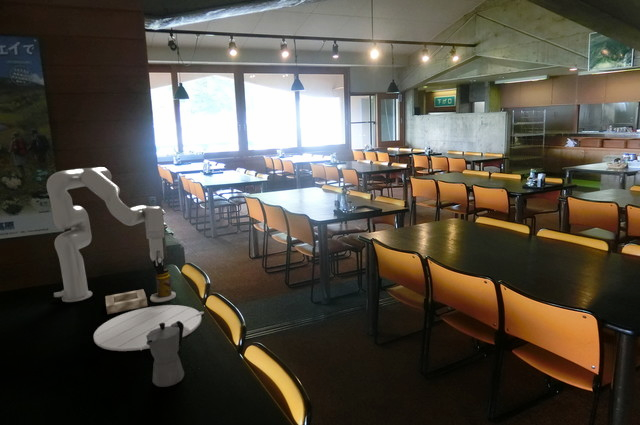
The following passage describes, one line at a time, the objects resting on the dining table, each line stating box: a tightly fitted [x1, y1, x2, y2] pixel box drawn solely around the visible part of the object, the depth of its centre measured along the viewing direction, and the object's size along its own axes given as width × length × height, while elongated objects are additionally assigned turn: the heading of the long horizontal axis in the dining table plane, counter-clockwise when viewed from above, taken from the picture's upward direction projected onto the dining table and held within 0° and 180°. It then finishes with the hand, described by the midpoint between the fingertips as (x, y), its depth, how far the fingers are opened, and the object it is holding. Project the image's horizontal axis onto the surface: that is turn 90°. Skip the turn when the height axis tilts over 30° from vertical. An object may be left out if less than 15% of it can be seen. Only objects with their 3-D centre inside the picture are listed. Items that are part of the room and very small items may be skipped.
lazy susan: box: [93, 304, 205, 352], centre depth 176 cm, size 40×39×3 cm
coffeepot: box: [146, 321, 185, 388], centre depth 137 cm, size 15×9×18 cm, turn 159°
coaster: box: [149, 290, 177, 303], centre depth 207 cm, size 11×11×1 cm
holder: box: [104, 288, 149, 315], centre depth 200 cm, size 16×14×4 cm
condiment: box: [151, 268, 174, 299], centre depth 206 cm, size 7×8×12 cm
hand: (158, 270), depth 205 cm, fingers open, 9 cm apart
